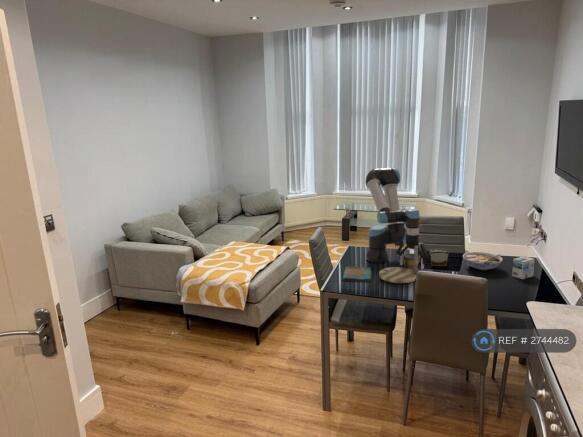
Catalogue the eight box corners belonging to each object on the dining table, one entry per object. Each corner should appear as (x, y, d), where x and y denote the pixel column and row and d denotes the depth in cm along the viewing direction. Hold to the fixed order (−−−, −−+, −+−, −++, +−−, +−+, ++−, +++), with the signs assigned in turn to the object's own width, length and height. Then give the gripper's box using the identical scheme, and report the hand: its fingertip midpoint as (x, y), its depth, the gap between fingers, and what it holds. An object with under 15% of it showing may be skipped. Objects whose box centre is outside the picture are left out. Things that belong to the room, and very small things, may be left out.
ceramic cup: (419, 274, 245) (419, 258, 243) (402, 273, 248) (402, 257, 246) (420, 267, 257) (420, 252, 254) (404, 266, 260) (404, 251, 258)
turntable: (372, 278, 237) (372, 247, 233) (389, 267, 253) (390, 239, 249) (407, 286, 223) (408, 253, 219) (423, 274, 239) (424, 244, 235)
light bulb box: (522, 279, 229) (523, 261, 227) (511, 276, 235) (512, 258, 233) (533, 276, 234) (535, 258, 232) (522, 272, 240) (524, 255, 238)
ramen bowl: (471, 259, 267) (471, 248, 265) (508, 267, 251) (509, 254, 249) (454, 269, 250) (455, 257, 248) (493, 278, 234) (494, 264, 232)
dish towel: (342, 281, 239) (342, 277, 239) (345, 268, 262) (345, 265, 261) (371, 282, 236) (371, 278, 235) (371, 269, 258) (371, 265, 258)
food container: (446, 262, 264) (446, 248, 262) (448, 265, 258) (449, 250, 256) (427, 262, 265) (427, 248, 263) (429, 265, 259) (429, 251, 257)
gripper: (391, 232, 253) (391, 264, 257) (429, 237, 237) (428, 271, 241) (396, 230, 258) (396, 261, 262) (434, 235, 242) (433, 268, 246)
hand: (411, 266), depth 252 cm, fingers open, 13 cm apart
